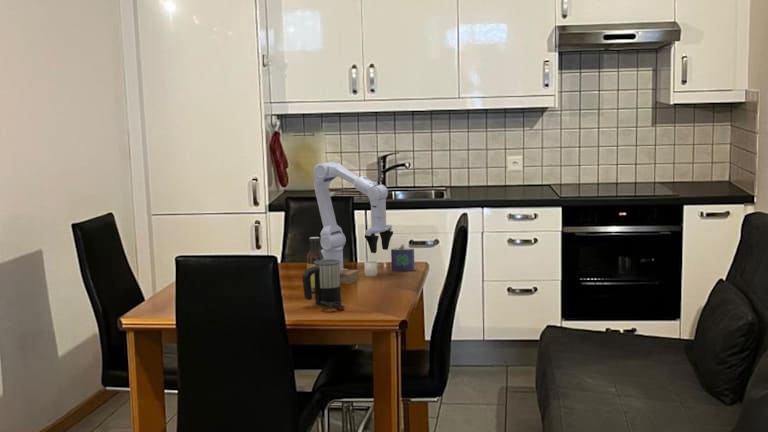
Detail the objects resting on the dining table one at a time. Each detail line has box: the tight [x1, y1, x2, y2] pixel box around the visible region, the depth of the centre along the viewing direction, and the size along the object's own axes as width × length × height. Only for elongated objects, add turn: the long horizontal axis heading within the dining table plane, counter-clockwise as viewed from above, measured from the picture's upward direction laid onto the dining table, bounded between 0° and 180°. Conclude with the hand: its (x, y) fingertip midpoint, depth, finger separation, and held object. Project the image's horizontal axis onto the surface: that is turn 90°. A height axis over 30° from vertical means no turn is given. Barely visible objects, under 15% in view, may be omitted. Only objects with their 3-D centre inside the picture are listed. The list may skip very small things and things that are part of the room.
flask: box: [390, 244, 416, 273], centre depth 365 cm, size 9×3×11 cm, turn 87°
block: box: [340, 268, 360, 285], centre depth 350 cm, size 8×8×4 cm
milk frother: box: [302, 259, 345, 311], centre depth 311 cm, size 14×16×15 cm
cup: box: [363, 260, 378, 277], centre depth 360 cm, size 5×5×5 cm
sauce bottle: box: [306, 236, 324, 293], centre depth 334 cm, size 6×6×20 cm
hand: (379, 251), depth 355 cm, fingers open, 7 cm apart
